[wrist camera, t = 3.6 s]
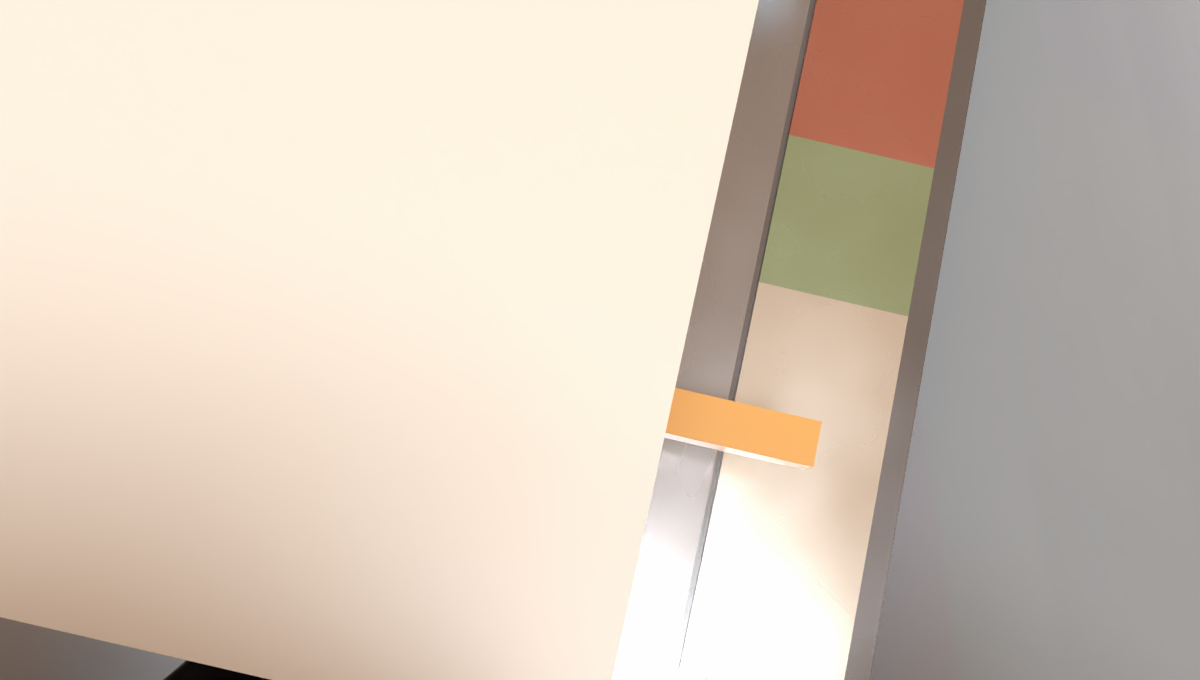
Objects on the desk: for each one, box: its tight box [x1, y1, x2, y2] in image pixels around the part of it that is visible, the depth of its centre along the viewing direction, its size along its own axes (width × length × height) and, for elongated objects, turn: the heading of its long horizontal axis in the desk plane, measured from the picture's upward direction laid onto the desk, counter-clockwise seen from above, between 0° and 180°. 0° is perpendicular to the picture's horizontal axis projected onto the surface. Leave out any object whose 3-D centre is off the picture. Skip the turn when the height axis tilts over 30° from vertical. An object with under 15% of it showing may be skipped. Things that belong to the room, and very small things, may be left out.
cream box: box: [0, 0, 822, 680], centre depth 11 cm, size 6×10×9 cm, turn 77°
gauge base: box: [0, 0, 986, 680], centre depth 14 cm, size 18×14×6 cm
